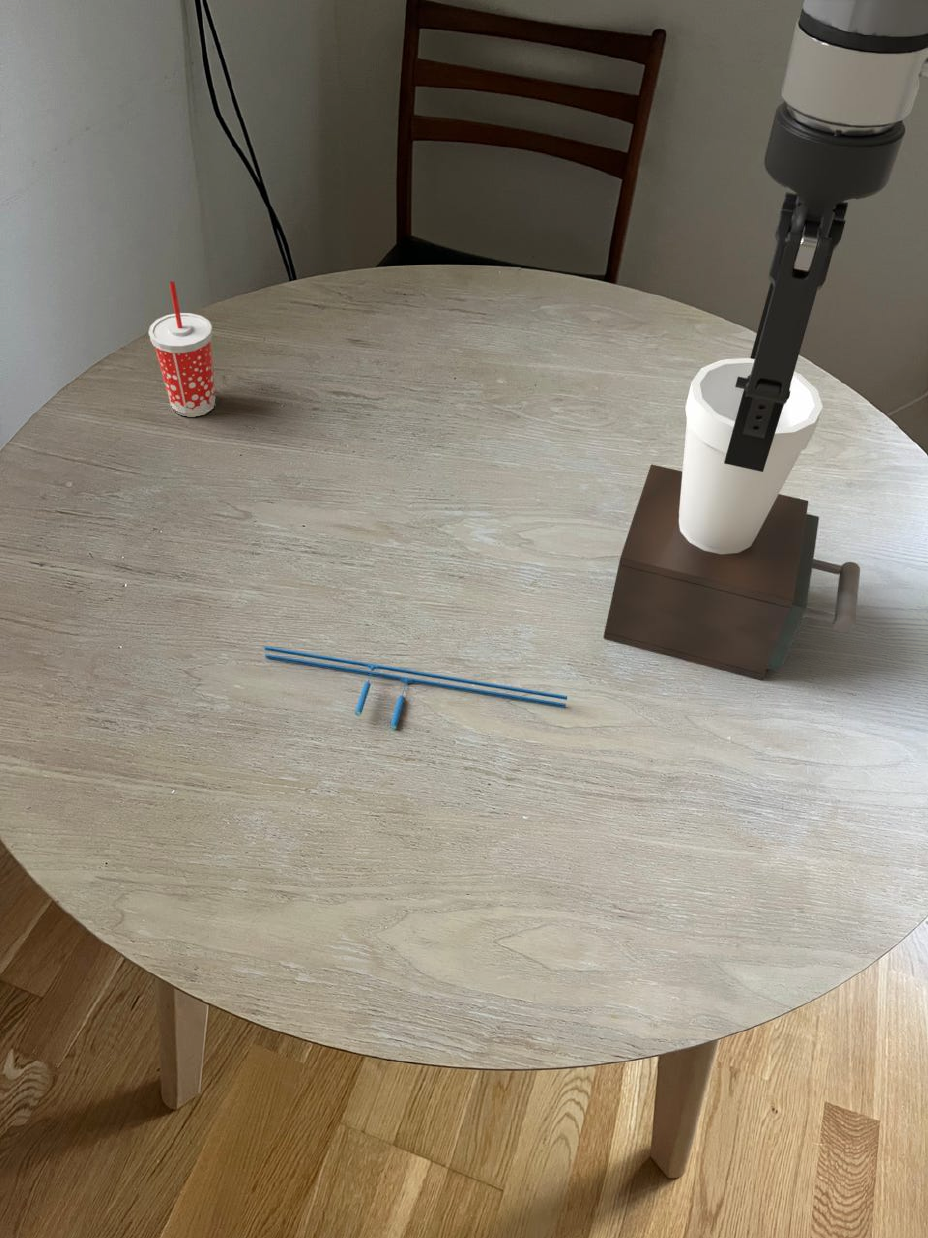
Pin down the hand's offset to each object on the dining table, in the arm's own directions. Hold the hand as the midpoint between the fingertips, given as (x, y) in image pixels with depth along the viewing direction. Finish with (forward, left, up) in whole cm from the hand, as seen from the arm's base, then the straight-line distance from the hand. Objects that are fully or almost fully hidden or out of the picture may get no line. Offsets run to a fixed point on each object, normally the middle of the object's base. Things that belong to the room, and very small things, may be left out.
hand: (756, 410), depth 77 cm
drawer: (-4, 0, -20) cm, 21 cm away
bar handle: (+20, +19, -21) cm, 35 cm away
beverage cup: (+55, -11, -21) cm, 60 cm away
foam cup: (0, 0, -12) cm, 12 cm away
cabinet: (0, 0, -21) cm, 21 cm away
